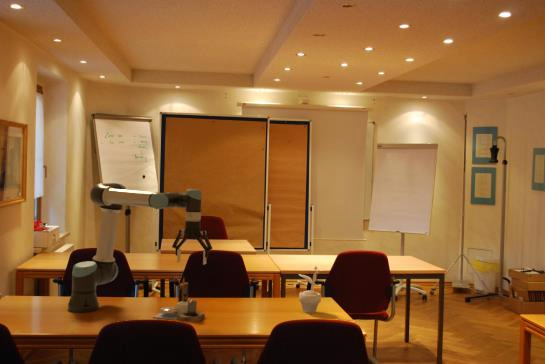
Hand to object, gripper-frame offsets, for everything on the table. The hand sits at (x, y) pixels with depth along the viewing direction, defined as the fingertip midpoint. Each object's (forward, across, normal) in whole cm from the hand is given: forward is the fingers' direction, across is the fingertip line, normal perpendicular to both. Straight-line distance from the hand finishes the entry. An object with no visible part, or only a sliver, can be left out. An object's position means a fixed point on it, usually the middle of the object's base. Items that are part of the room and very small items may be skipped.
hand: (191, 263), depth 276 cm
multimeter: (+27, -6, +15) cm, 31 cm away
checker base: (+27, -10, -2) cm, 29 cm away
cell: (+26, +2, -3) cm, 26 cm away
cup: (+27, -4, +2) cm, 27 cm away
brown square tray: (+27, +2, -3) cm, 27 cm away
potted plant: (+27, +55, +31) cm, 69 cm away
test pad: (+25, -10, -2) cm, 27 cm away
